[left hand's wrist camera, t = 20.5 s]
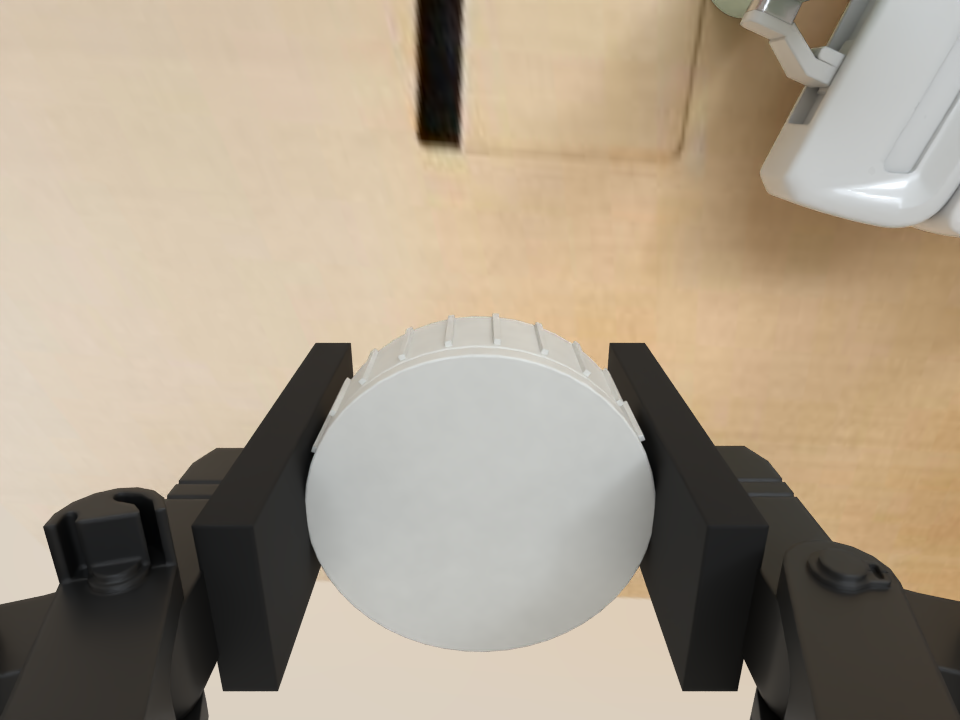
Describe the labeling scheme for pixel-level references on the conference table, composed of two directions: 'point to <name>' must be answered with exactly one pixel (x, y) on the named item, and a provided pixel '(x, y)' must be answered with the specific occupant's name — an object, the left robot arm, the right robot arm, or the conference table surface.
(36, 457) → the conference table surface
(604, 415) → the lid
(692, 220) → the conference table surface
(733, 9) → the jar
